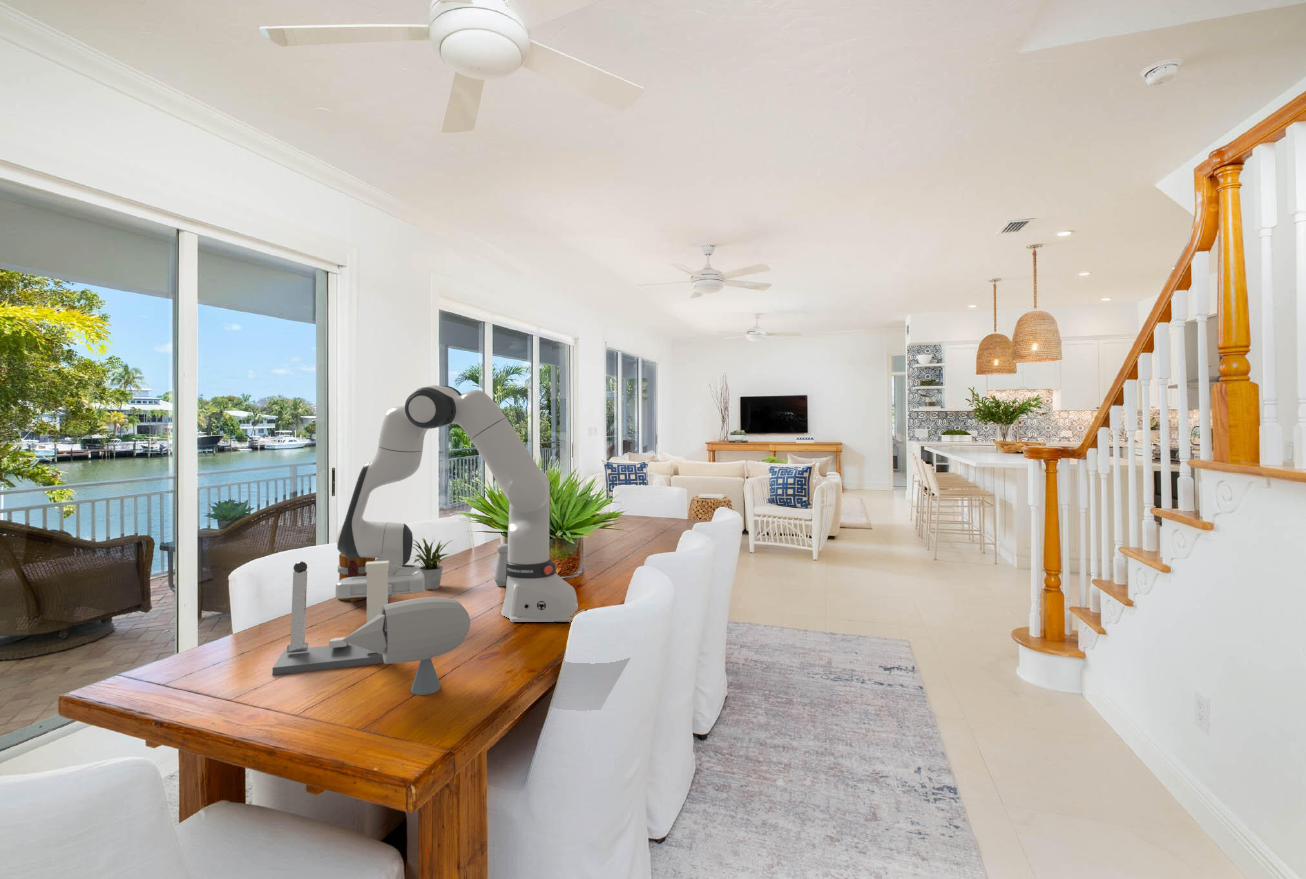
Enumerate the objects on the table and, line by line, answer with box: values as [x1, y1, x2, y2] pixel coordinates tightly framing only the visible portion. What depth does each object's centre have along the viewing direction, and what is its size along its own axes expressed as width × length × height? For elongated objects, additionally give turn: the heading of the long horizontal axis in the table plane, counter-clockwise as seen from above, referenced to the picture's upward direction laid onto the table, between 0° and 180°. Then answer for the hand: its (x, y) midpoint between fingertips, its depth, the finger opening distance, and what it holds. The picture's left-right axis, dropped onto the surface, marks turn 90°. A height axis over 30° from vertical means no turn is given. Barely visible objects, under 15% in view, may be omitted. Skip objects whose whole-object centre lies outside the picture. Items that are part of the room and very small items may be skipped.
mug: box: [337, 553, 376, 603], centre depth 174 cm, size 11×16×15 cm, turn 18°
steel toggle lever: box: [286, 560, 309, 653], centre depth 129 cm, size 3×4×19 cm
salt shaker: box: [493, 543, 508, 587], centre depth 190 cm, size 6×6×13 cm
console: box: [272, 643, 385, 676], centre depth 129 cm, size 10×22×2 cm, turn 110°
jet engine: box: [341, 596, 471, 696], centre depth 114 cm, size 15×20×18 cm
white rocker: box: [328, 636, 350, 648], centre depth 131 cm, size 5×3×1 cm, turn 20°
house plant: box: [410, 536, 453, 590], centre depth 186 cm, size 14×14×16 cm
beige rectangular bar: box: [366, 561, 389, 653], centre depth 129 cm, size 2×4×19 cm, turn 109°
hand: (378, 593), depth 143 cm, fingers closed
